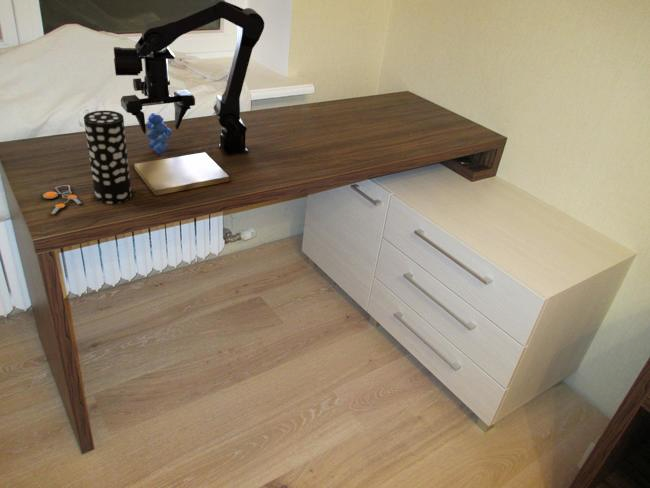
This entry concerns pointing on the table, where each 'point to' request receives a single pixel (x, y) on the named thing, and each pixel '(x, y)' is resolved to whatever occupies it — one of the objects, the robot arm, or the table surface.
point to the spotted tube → (108, 156)
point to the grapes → (158, 133)
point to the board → (180, 173)
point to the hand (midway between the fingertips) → (160, 130)
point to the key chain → (54, 194)
